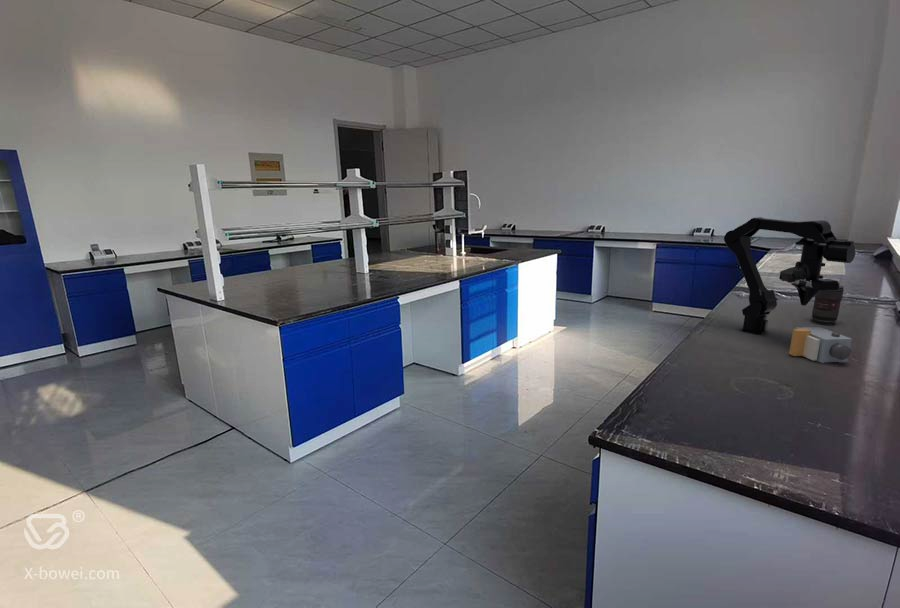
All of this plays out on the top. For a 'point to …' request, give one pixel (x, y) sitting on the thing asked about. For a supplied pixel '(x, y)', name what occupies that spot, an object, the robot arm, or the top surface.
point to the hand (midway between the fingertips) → (803, 305)
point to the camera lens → (827, 306)
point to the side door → (804, 344)
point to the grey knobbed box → (831, 345)
